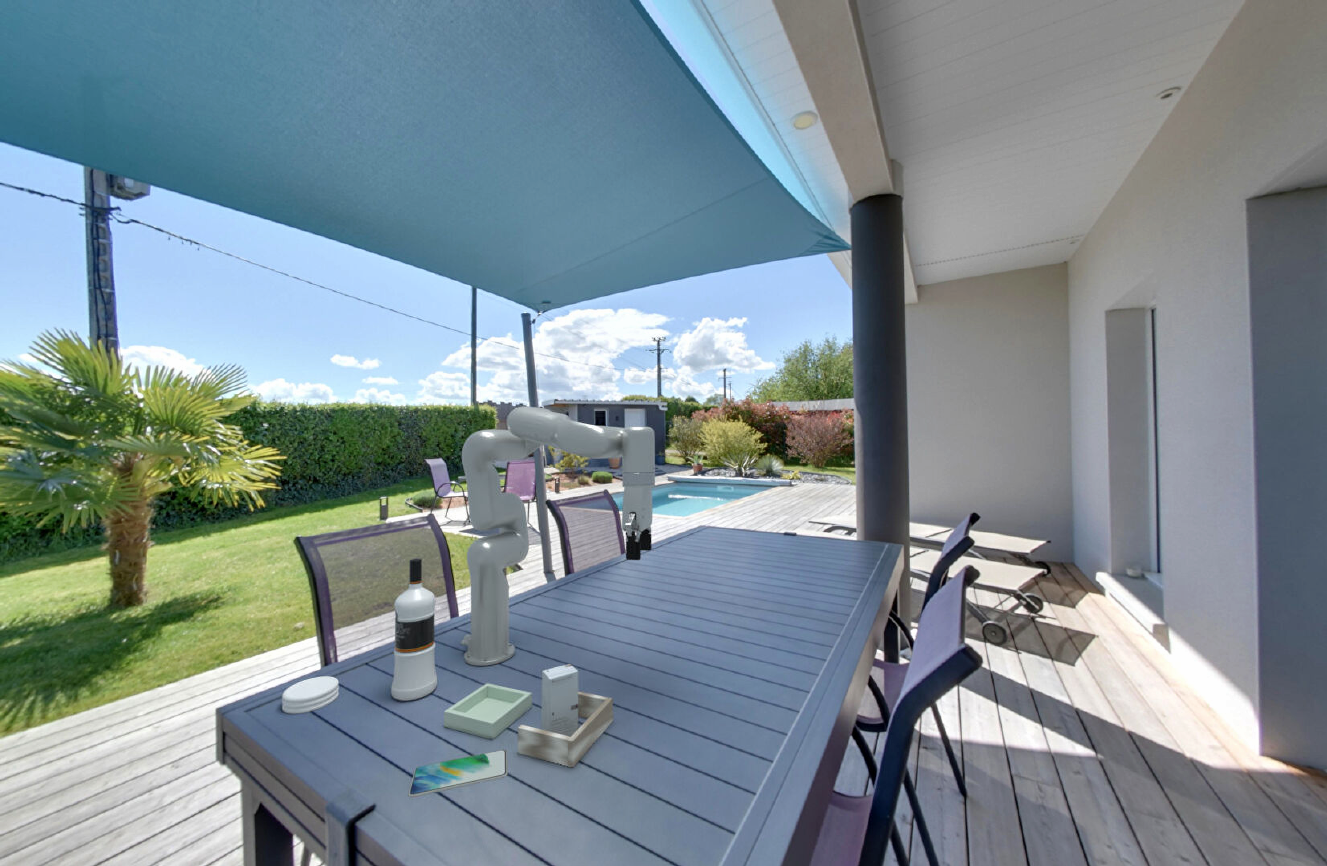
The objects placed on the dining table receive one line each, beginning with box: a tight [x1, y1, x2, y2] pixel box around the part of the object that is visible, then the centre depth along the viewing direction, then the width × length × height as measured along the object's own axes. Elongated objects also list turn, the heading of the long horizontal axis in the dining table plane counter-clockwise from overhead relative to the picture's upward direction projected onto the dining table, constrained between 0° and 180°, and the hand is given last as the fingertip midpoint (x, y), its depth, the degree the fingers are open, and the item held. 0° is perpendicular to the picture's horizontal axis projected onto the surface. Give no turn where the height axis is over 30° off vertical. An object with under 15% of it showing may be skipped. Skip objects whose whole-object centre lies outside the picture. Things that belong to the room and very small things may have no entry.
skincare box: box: [541, 663, 579, 737], centre depth 92 cm, size 6×4×12 cm
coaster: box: [281, 675, 340, 715], centre depth 105 cm, size 10×10×4 cm
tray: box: [443, 682, 533, 741], centre depth 99 cm, size 12×12×3 cm
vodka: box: [390, 557, 438, 702], centre depth 109 cm, size 9×9×30 cm
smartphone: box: [408, 749, 508, 798], centre depth 82 cm, size 7×1×15 cm
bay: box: [517, 690, 614, 768], centre depth 92 cm, size 12×15×4 cm
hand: (639, 554), depth 110 cm, fingers open, 9 cm apart
